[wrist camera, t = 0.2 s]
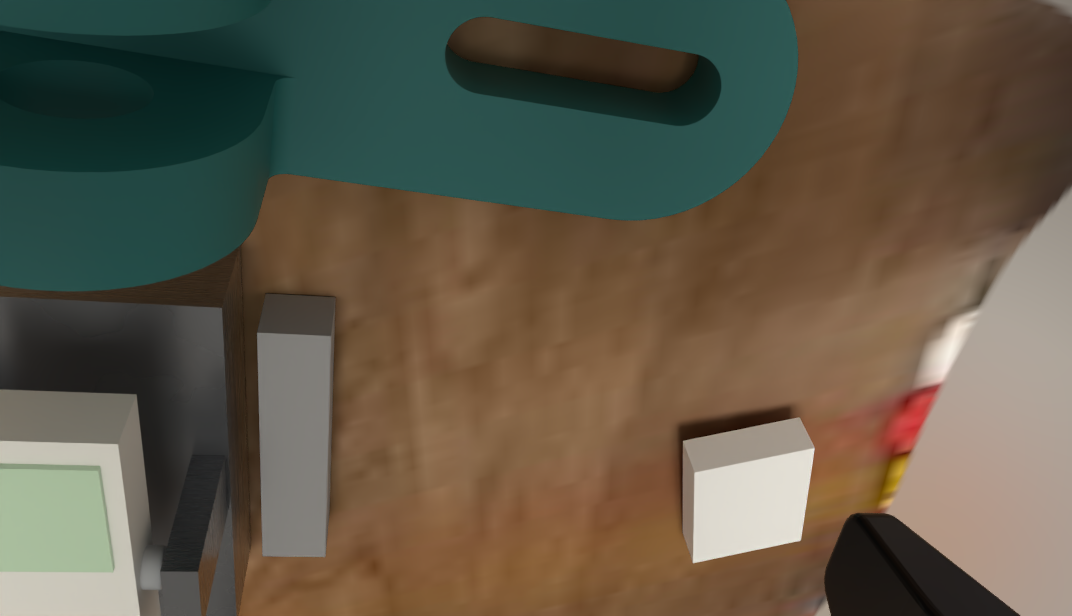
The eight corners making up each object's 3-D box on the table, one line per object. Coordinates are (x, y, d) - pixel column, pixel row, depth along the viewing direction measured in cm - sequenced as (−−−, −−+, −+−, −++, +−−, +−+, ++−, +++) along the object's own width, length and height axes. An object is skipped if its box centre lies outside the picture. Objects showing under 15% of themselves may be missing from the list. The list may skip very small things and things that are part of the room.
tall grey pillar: (329, 512, 30) (325, 556, 29) (270, 511, 30) (262, 556, 28) (335, 297, 26) (331, 336, 24) (266, 293, 26) (257, 332, 24)
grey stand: (250, 545, 31) (215, 745, 25) (5, 542, 29) (-90, 750, 24) (240, 242, 25) (191, 414, 19) (-68, 223, 23) (-218, 400, 18)
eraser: (692, 564, 32) (801, 540, 32) (693, 473, 28) (815, 447, 28) (681, 532, 32) (788, 509, 33) (681, 440, 29) (799, 415, 29)
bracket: (-23, 85, 22) (-206, 263, 16) (-57, -250, 19) (-311, -201, 12) (717, 195, 26) (821, 377, 19) (807, -67, 22) (972, 47, 16)
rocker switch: (182, 660, 26) (168, 720, 24) (-14, 661, 25) (-40, 724, 24) (156, 395, 21) (137, 449, 19) (-87, 386, 20) (-126, 442, 19)
